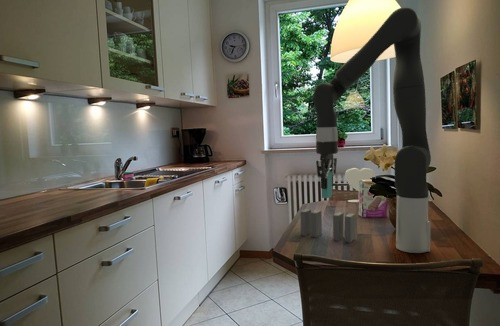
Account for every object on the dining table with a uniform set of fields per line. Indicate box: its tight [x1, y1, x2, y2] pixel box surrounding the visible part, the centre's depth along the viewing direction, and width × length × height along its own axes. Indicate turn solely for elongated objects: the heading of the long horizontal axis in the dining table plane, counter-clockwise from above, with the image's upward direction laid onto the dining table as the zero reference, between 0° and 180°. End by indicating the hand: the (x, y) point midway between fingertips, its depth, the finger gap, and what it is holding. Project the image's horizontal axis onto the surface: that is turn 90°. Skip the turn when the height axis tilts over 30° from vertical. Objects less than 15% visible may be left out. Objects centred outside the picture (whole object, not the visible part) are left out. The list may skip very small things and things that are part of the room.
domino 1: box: [300, 208, 312, 237], centre depth 136 cm, size 2×5×9 cm, turn 146°
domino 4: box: [332, 211, 345, 242], centre depth 129 cm, size 2×5×9 cm, turn 146°
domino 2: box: [310, 209, 323, 238], centre depth 134 cm, size 2×5×9 cm, turn 147°
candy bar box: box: [358, 180, 388, 219], centre depth 160 cm, size 11×5×16 cm, turn 92°
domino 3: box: [321, 171, 333, 199], centre depth 130 cm, size 2×5×9 cm, turn 146°
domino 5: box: [344, 213, 356, 243], centre depth 127 cm, size 2×5×9 cm, turn 147°
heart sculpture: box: [344, 167, 377, 203], centre depth 196 cm, size 16×5×18 cm, turn 78°
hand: (327, 187), depth 130 cm, fingers closed on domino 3, 5 cm apart
